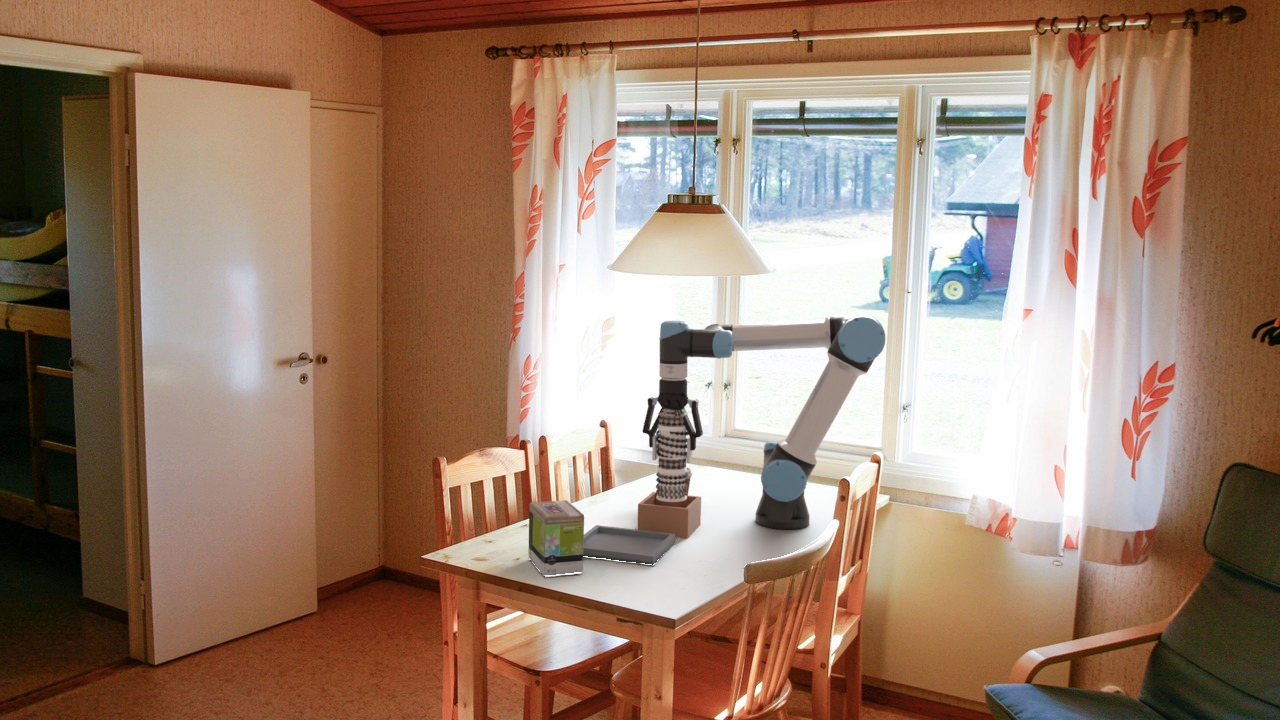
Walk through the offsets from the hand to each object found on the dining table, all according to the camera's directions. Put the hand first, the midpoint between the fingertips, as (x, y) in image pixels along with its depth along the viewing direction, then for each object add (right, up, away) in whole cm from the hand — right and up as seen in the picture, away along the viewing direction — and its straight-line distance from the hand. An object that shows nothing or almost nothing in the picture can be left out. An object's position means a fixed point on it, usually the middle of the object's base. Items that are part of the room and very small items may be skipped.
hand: (672, 460), depth 282 cm
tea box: (-29, -23, -31) cm, 49 cm away
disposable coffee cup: (+2, -17, +23) cm, 28 cm away
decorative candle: (0, -11, +1) cm, 11 cm away
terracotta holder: (-1, -19, +2) cm, 19 cm away
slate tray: (-13, -21, -17) cm, 30 cm away
